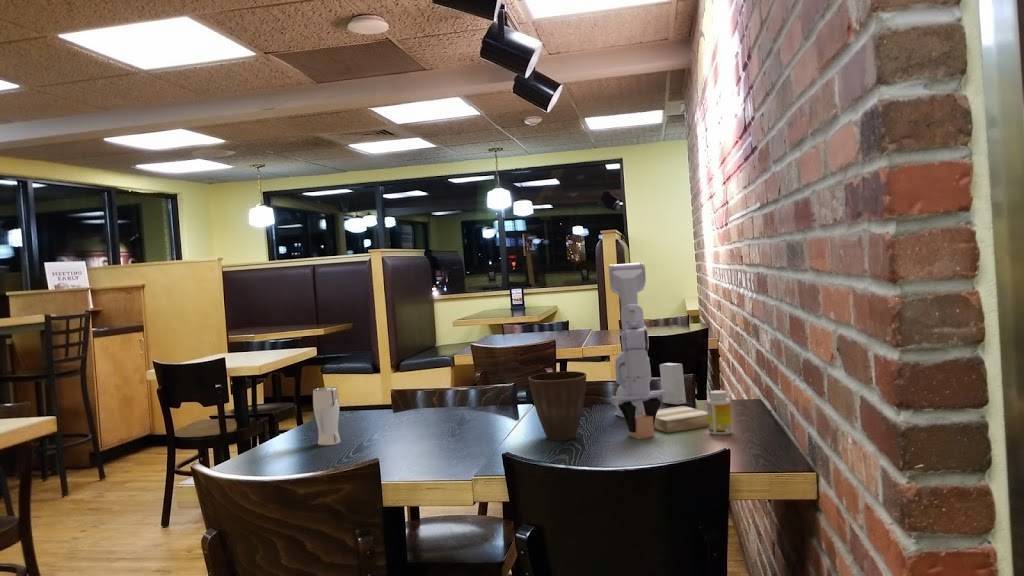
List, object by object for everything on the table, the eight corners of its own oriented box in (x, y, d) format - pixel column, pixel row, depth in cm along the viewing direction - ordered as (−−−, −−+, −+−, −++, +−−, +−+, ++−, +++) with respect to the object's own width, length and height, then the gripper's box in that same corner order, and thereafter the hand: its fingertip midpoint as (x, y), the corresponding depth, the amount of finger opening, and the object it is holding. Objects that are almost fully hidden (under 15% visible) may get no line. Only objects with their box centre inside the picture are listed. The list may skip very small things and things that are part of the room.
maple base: (639, 423, 193) (638, 412, 193) (683, 416, 197) (683, 405, 197) (667, 432, 180) (667, 420, 179) (714, 425, 184) (713, 413, 184)
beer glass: (319, 447, 191) (315, 392, 191) (313, 443, 198) (309, 389, 197) (345, 443, 195) (340, 388, 194) (338, 438, 201) (334, 386, 201)
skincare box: (686, 403, 217) (684, 363, 217) (676, 405, 215) (673, 365, 214) (672, 400, 222) (669, 362, 222) (661, 403, 220) (658, 363, 220)
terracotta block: (629, 435, 179) (627, 415, 179) (644, 433, 181) (643, 413, 181) (638, 439, 175) (636, 418, 175) (654, 436, 177) (652, 416, 177)
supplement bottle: (736, 432, 175) (734, 390, 175) (723, 436, 171) (720, 394, 171) (717, 429, 179) (714, 389, 179) (704, 433, 176) (701, 392, 176)
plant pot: (601, 438, 178) (596, 375, 178) (546, 447, 173) (541, 382, 173) (575, 428, 192) (571, 369, 192) (524, 436, 187) (519, 375, 187)
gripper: (619, 381, 172) (623, 437, 172) (671, 374, 177) (674, 429, 177) (605, 378, 178) (609, 432, 178) (656, 371, 183) (659, 424, 183)
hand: (641, 430), depth 178 cm, fingers closed on terracotta block, 4 cm apart
